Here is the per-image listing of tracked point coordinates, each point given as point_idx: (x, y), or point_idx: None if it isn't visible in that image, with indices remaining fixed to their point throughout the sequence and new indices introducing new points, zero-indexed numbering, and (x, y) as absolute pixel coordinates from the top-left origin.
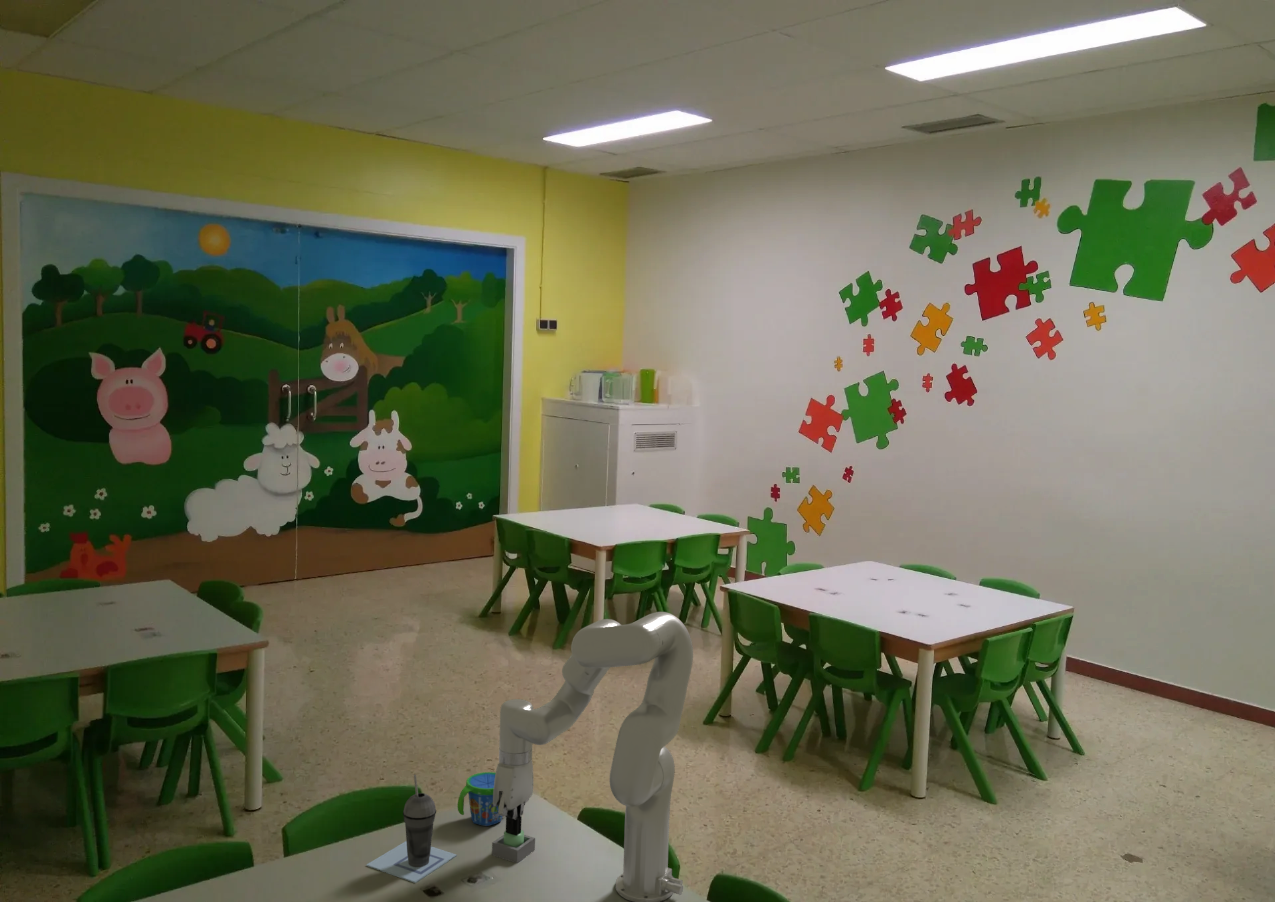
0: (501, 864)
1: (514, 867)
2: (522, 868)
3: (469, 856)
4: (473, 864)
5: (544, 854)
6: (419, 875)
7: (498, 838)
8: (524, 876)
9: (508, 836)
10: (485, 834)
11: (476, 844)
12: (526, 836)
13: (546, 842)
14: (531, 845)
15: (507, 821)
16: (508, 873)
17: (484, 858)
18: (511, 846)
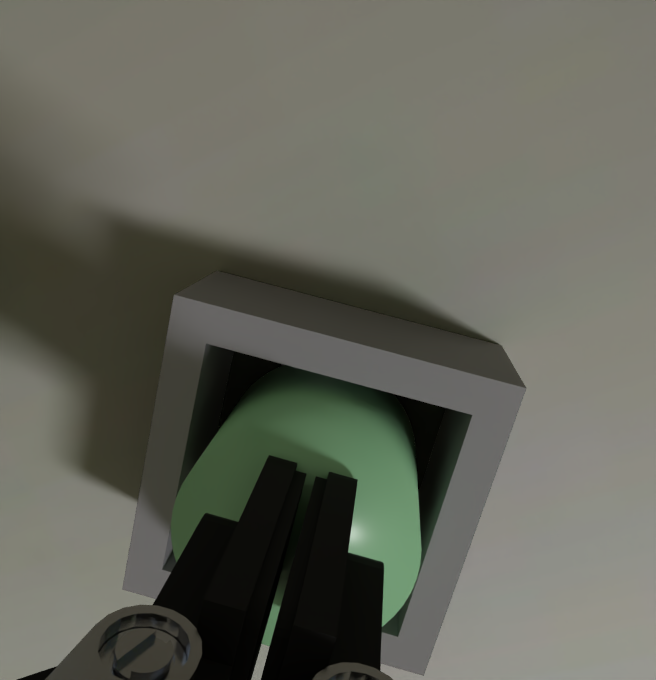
0: (107, 406)
1: (106, 515)
2: (117, 574)
3: (120, 65)
4: (6, 172)
5: (381, 668)
6: None
7: (289, 327)
8: (21, 615)
9: (185, 512)
10: (633, 13)
11: (375, 19)
12: (429, 594)
13: (593, 639)
14: None
15: (158, 599)
16: (7, 500)
17: (141, 226)
18: (170, 516)
